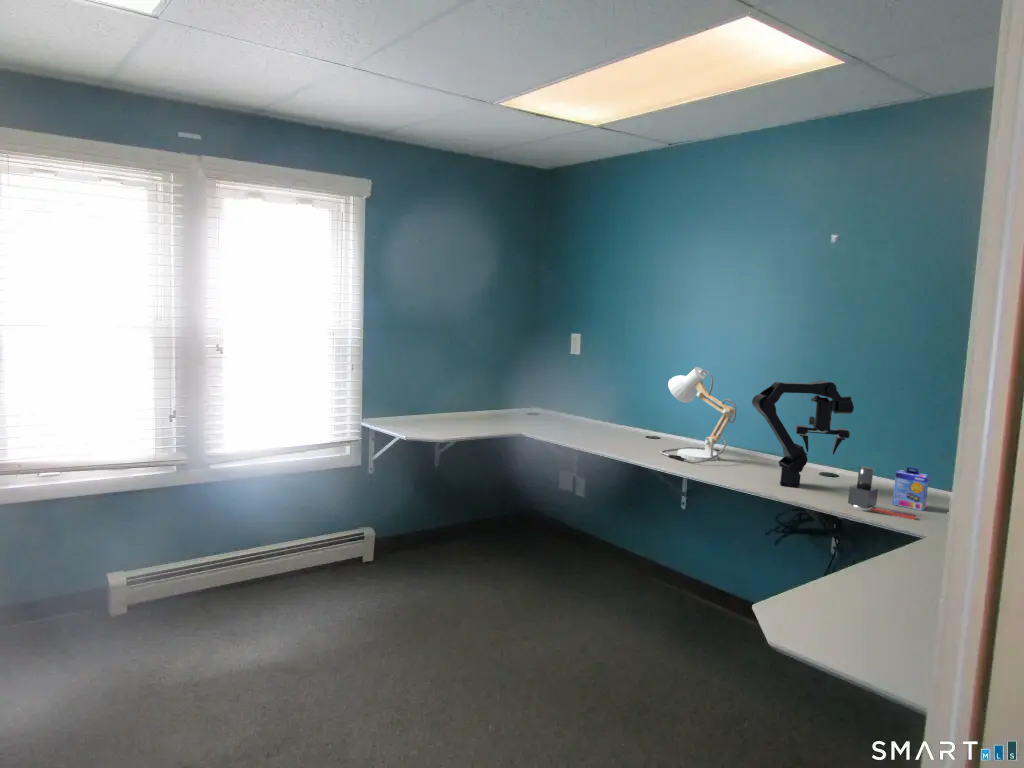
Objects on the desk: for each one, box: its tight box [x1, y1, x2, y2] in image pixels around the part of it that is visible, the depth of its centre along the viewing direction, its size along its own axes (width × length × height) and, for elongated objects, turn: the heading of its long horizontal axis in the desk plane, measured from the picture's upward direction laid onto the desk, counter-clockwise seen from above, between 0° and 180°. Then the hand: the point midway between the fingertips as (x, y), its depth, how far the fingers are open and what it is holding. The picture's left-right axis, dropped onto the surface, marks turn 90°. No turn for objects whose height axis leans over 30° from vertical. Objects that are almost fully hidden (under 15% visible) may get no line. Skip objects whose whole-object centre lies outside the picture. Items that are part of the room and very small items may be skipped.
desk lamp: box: [659, 366, 737, 464], centre depth 309 cm, size 31×38×40 cm
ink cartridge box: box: [891, 466, 930, 511], centre depth 244 cm, size 10×6×14 cm, turn 51°
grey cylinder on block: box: [847, 465, 879, 508], centre depth 238 cm, size 7×7×13 cm
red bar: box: [849, 504, 917, 521], centre depth 235 cm, size 20×9×4 cm, turn 38°
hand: (820, 453), depth 266 cm, fingers open, 9 cm apart
